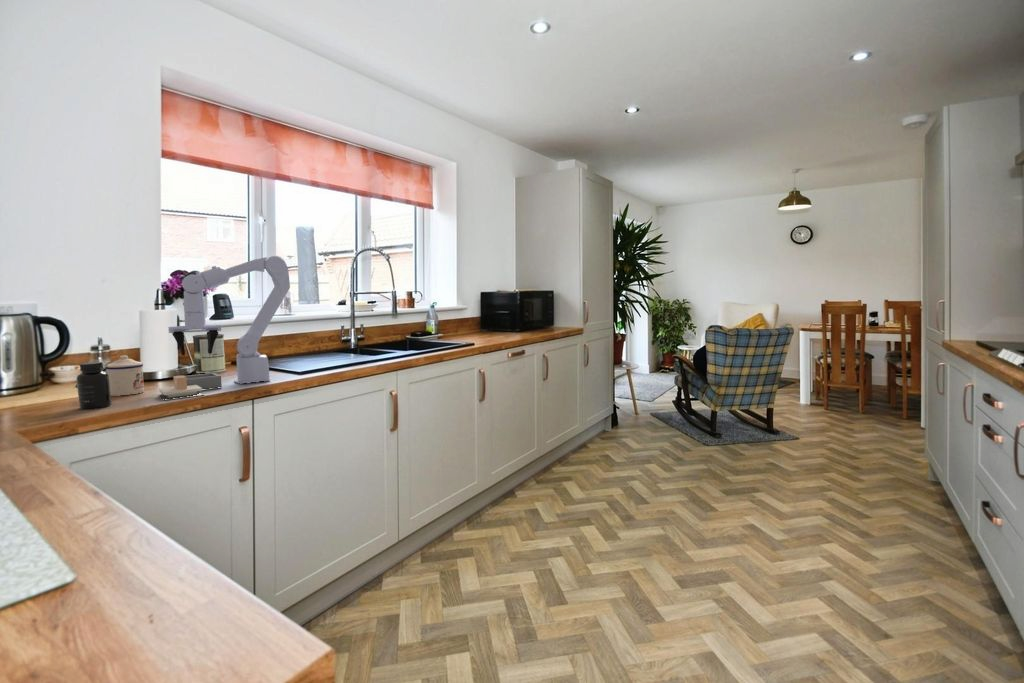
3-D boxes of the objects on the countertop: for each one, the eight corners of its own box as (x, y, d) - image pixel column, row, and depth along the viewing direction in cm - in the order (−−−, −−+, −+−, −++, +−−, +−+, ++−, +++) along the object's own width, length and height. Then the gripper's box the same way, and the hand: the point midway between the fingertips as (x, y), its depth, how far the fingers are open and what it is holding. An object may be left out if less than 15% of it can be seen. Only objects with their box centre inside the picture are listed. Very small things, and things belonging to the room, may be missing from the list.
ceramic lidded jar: (141, 395, 157) (138, 356, 156) (104, 397, 153) (100, 358, 152) (150, 388, 168) (147, 352, 167) (115, 390, 164) (112, 353, 163)
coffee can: (188, 373, 198) (186, 336, 196) (207, 369, 208) (204, 333, 206) (214, 373, 196) (211, 336, 195) (231, 369, 207) (229, 333, 205)
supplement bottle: (91, 404, 144) (87, 361, 143) (117, 403, 145) (113, 360, 144) (72, 410, 138) (68, 364, 136) (100, 409, 138) (96, 364, 137)
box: (215, 384, 173) (214, 372, 173) (221, 388, 167) (220, 375, 167) (180, 388, 166) (179, 376, 166) (185, 392, 160) (184, 379, 160)
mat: (197, 391, 162) (196, 390, 162) (203, 395, 155) (203, 394, 155) (158, 395, 155) (158, 394, 155) (163, 400, 149) (163, 399, 149)
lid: (196, 390, 161) (195, 373, 161) (202, 393, 156) (201, 376, 155) (159, 394, 155) (158, 377, 154) (164, 398, 149) (162, 380, 149)
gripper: (170, 313, 162) (172, 357, 163) (222, 312, 171) (224, 353, 172) (166, 312, 167) (168, 354, 168) (217, 311, 176) (219, 351, 178)
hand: (196, 354), depth 171 cm, fingers open, 7 cm apart
